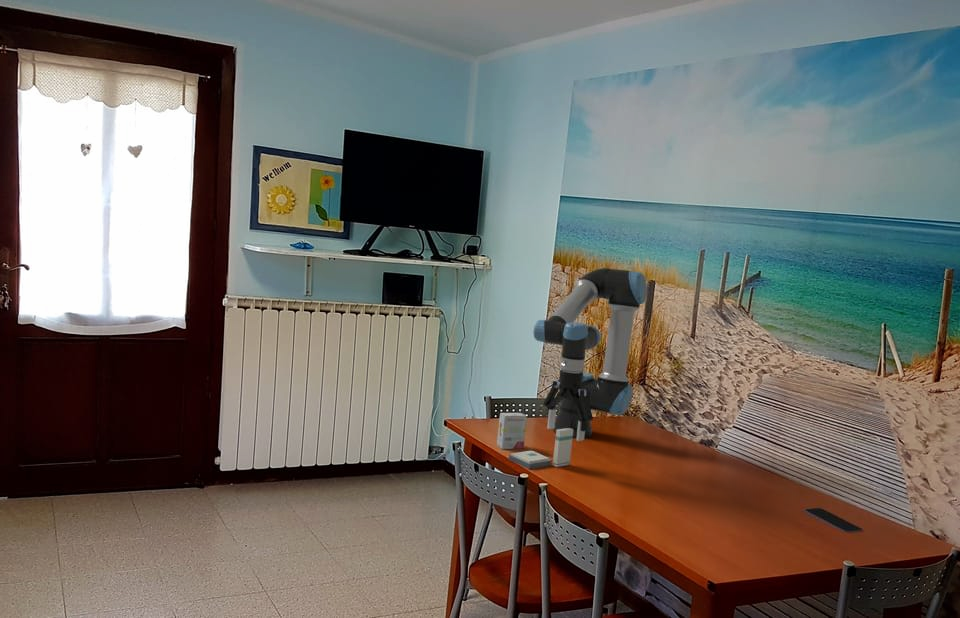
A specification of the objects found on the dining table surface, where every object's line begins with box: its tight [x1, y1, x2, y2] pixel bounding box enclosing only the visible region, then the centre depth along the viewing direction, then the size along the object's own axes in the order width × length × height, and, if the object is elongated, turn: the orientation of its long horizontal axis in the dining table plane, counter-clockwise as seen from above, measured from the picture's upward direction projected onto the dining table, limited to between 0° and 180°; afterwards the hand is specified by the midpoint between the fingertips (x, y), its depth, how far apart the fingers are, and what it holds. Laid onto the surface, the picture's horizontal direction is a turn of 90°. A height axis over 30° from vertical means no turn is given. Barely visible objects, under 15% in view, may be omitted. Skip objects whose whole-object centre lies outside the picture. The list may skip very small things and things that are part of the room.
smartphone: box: [804, 507, 863, 533], centre depth 204 cm, size 7×1×15 cm
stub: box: [552, 428, 574, 468], centre depth 230 cm, size 6×2×12 cm, turn 128°
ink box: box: [496, 412, 527, 450], centre depth 245 cm, size 9×5×12 cm, turn 112°
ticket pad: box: [508, 450, 553, 470], centre depth 230 cm, size 10×10×2 cm
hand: (565, 434), depth 230 cm, fingers open, 13 cm apart
